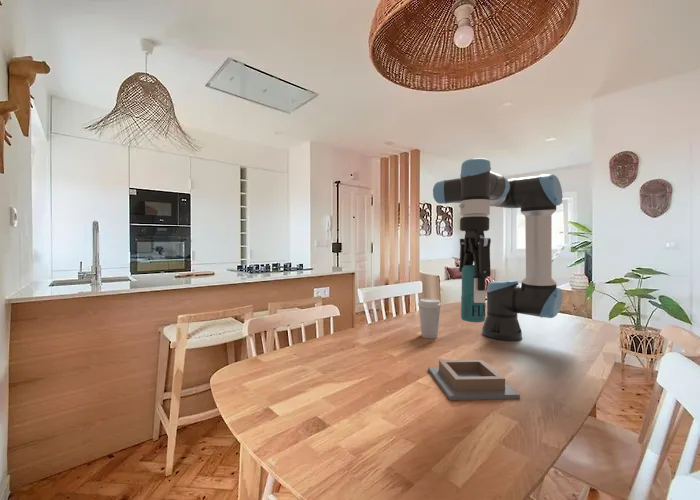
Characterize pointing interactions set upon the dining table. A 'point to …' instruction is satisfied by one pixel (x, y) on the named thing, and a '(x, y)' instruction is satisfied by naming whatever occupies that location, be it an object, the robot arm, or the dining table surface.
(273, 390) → the dining table surface
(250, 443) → the dining table surface
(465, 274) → the beverage bottle
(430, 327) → the coffee cup
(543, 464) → the dining table surface
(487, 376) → the bottle stand
